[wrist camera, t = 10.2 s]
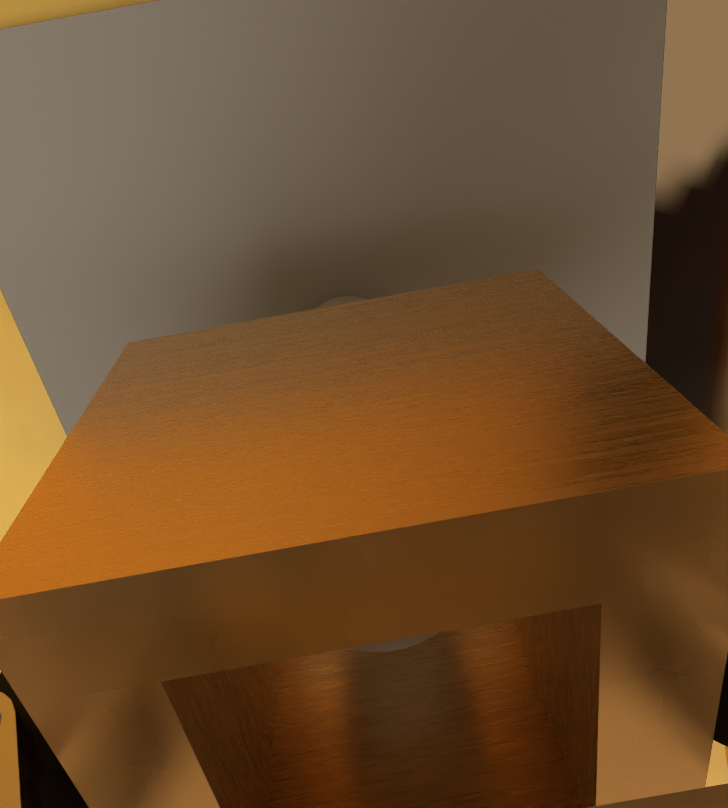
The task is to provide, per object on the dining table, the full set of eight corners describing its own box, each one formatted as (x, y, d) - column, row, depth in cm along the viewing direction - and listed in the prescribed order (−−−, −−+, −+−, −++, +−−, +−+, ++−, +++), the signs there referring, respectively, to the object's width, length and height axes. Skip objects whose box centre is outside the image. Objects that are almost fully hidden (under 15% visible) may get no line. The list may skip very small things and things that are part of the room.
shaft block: (644, -83, 14) (1261, -343, 5) (619, 500, 22) (841, 814, 13) (-78, 49, 14) (-763, 31, 5) (153, 582, 22) (44, 952, 13)
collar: (538, 268, 10) (758, 464, 5) (547, 576, 13) (688, 879, 8) (127, 342, 10) (-40, 605, 5) (233, 631, 13) (191, 966, 8)
